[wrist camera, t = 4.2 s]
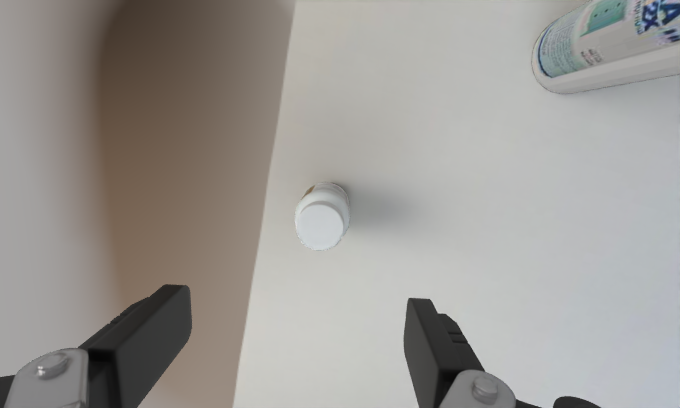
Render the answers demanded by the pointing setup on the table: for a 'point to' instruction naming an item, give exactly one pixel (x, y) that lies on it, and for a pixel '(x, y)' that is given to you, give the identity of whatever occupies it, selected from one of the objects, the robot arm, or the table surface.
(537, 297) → the table surface
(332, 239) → the pill bottle
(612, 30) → the spray can
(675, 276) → the table surface
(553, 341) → the table surface
